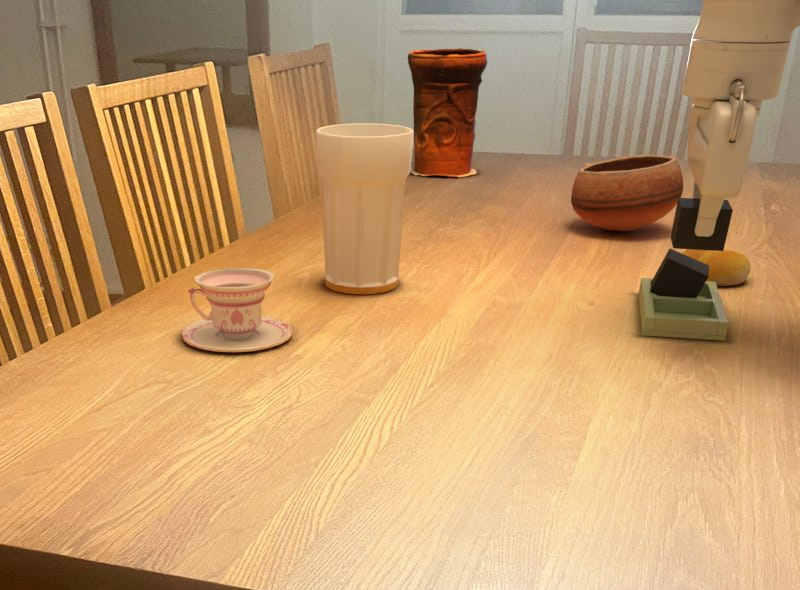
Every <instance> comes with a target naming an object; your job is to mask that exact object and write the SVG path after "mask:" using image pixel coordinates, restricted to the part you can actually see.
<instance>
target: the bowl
mask: <svg viewBox="0 0 800 590" xmlns="http://www.w3.org/2000/svg"><path fill="white" fill-rule="evenodd" d="M683 193H684V177H683V172H682V168H681V165H680V162H679V160H678V159H677V158H676V157H675V156H671V155H663V154H643V155H641V154H637V155H636V154H635V155H627V156H621V157H617V158H616V157H615V158H613V159H607V160H602V161H601V160H600V161H596V162H586V163H584V164H583V166H582V167H581V168H580V169H579V170H578V172H577V173H576V176H575V179H574V181H573V184H572V189H571V195H570V196H571V197H570V203H571V206H572V209H573V212H574V213H576V214H577V215H578V216H579V218H581V219H582V220H583V221H585V222H586V223H588V224H590V225H592V226H594V227H597V228H600V229H603V230H608V231H613V232H630V231H634V230H635V231H636V230H639V229H641V228H644V227H647V226H649V225H651V224H653V223H655V222H657V221H659V220H661V219H662V218H664V217H666V216H667V215H668V214H669V213H671V211H673V210H674V209H675V208H676V207H677V202H678V198H682V196H683Z"/></svg>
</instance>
